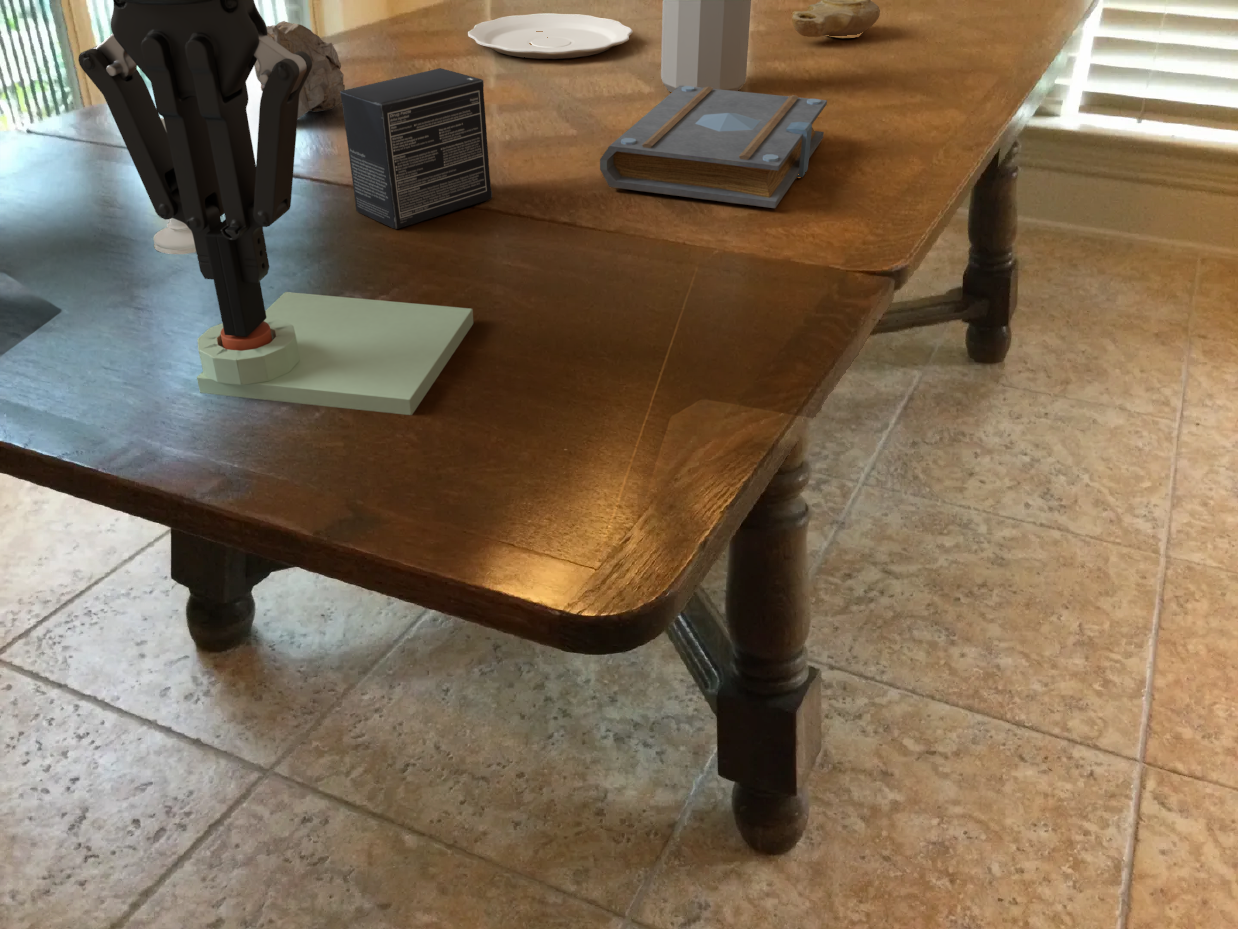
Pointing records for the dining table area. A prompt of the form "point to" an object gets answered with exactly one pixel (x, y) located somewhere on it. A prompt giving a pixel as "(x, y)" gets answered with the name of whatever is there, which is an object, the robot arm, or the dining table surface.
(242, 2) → the robot arm
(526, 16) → the plate
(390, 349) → the pale green flat block
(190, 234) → the chess piece
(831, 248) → the dining table surface
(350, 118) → the small box
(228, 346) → the button
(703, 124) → the book
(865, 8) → the oil lamp
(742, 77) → the jar
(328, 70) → the rock
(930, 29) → the dining table surface
